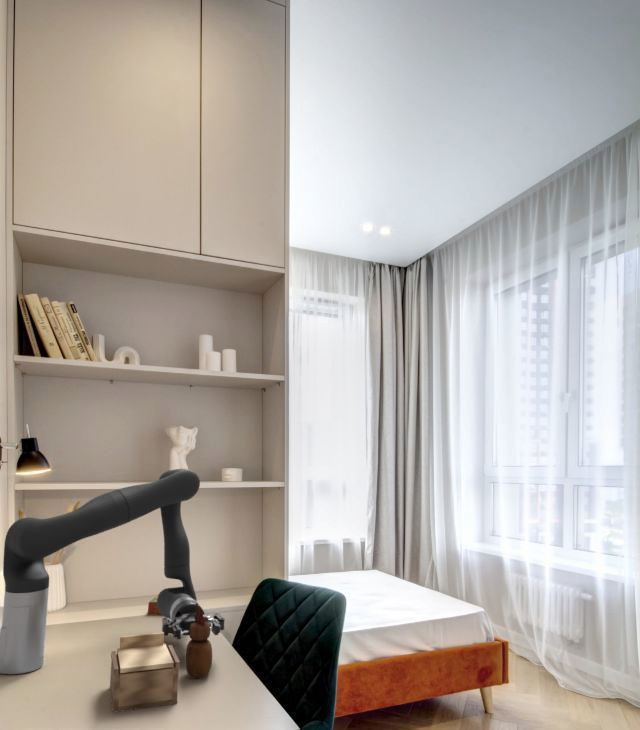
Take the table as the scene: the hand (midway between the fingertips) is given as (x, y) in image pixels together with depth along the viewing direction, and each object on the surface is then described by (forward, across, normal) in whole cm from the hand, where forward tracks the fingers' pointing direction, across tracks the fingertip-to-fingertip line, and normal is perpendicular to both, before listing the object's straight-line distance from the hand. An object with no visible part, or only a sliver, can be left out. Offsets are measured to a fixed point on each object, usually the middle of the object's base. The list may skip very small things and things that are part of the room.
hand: (198, 632), depth 134 cm
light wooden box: (+9, -13, +8) cm, 18 cm away
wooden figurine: (+2, 0, +9) cm, 9 cm away
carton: (-61, +2, +9) cm, 62 cm away
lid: (+9, -13, +2) cm, 16 cm away
